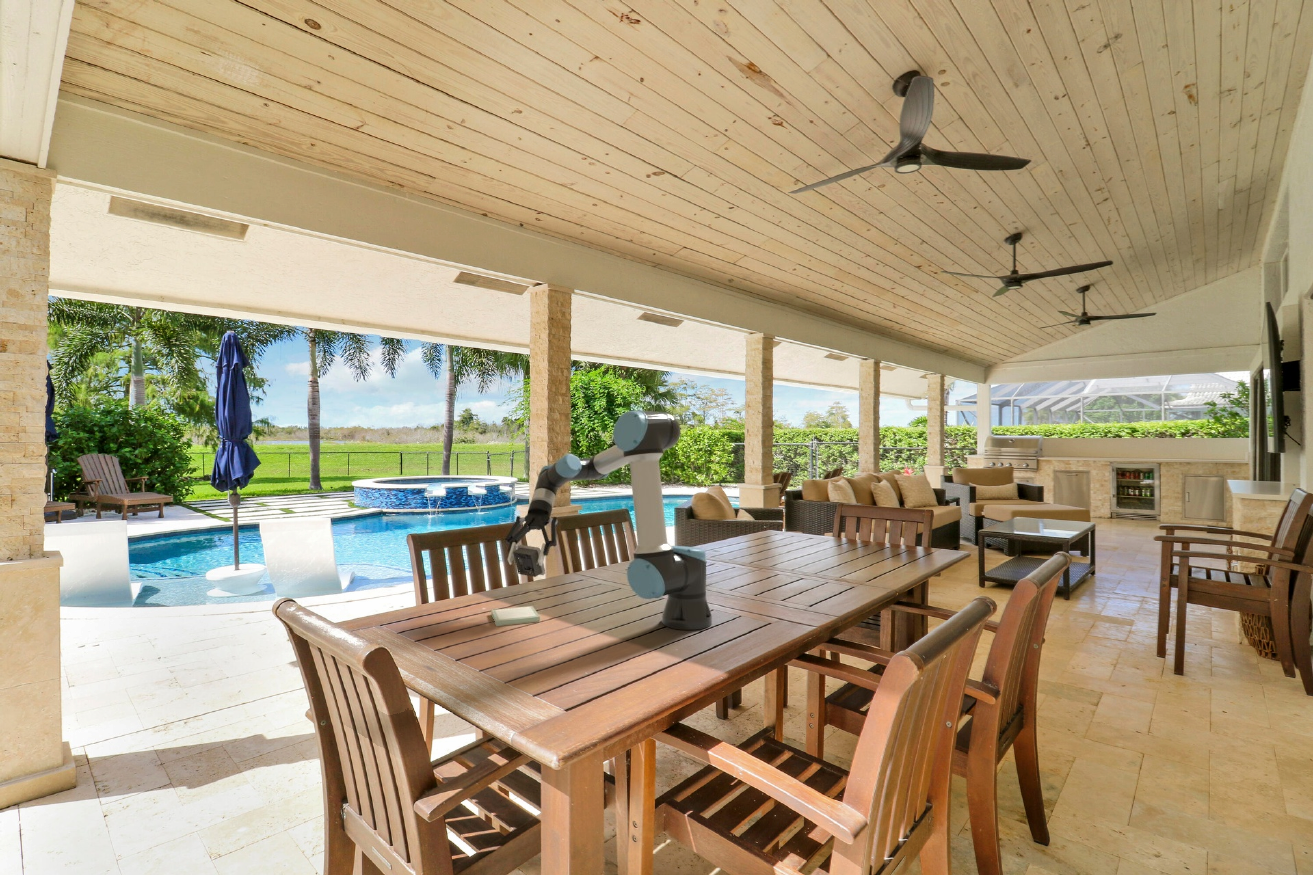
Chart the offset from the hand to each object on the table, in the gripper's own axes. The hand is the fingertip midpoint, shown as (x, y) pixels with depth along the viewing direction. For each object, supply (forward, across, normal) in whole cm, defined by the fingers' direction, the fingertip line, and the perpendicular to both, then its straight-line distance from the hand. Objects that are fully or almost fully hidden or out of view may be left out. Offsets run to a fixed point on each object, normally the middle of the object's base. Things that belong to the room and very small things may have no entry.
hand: (524, 562), depth 192 cm
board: (+12, +3, -13) cm, 18 cm away
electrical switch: (+1, 0, -6) cm, 6 cm away
